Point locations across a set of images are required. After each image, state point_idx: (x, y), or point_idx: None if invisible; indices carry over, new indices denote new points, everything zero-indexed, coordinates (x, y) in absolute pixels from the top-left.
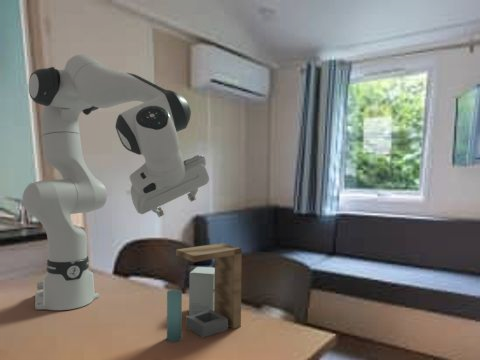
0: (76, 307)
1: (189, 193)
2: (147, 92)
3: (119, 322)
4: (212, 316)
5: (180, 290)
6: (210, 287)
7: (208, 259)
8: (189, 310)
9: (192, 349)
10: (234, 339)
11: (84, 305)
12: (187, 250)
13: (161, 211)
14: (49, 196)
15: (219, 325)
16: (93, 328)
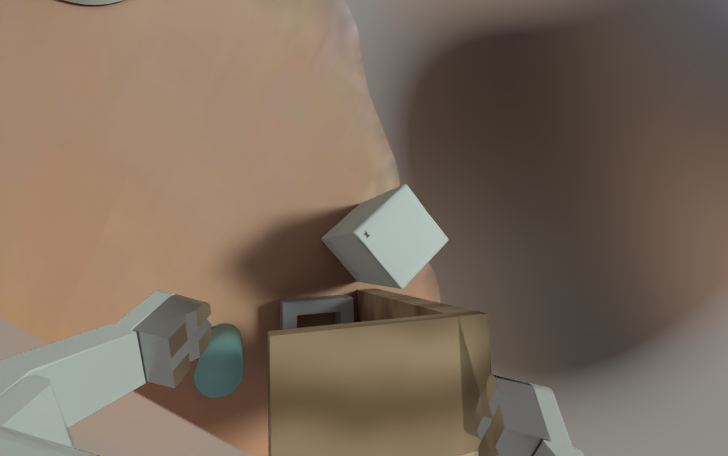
0: (80, 2)
1: (529, 438)
2: None
3: (152, 173)
4: (339, 322)
5: (243, 370)
6: (380, 282)
7: None
8: (323, 239)
9: (230, 410)
10: None
11: (110, 2)
12: (302, 380)
13: (162, 381)
14: None
15: None
16: (72, 166)
